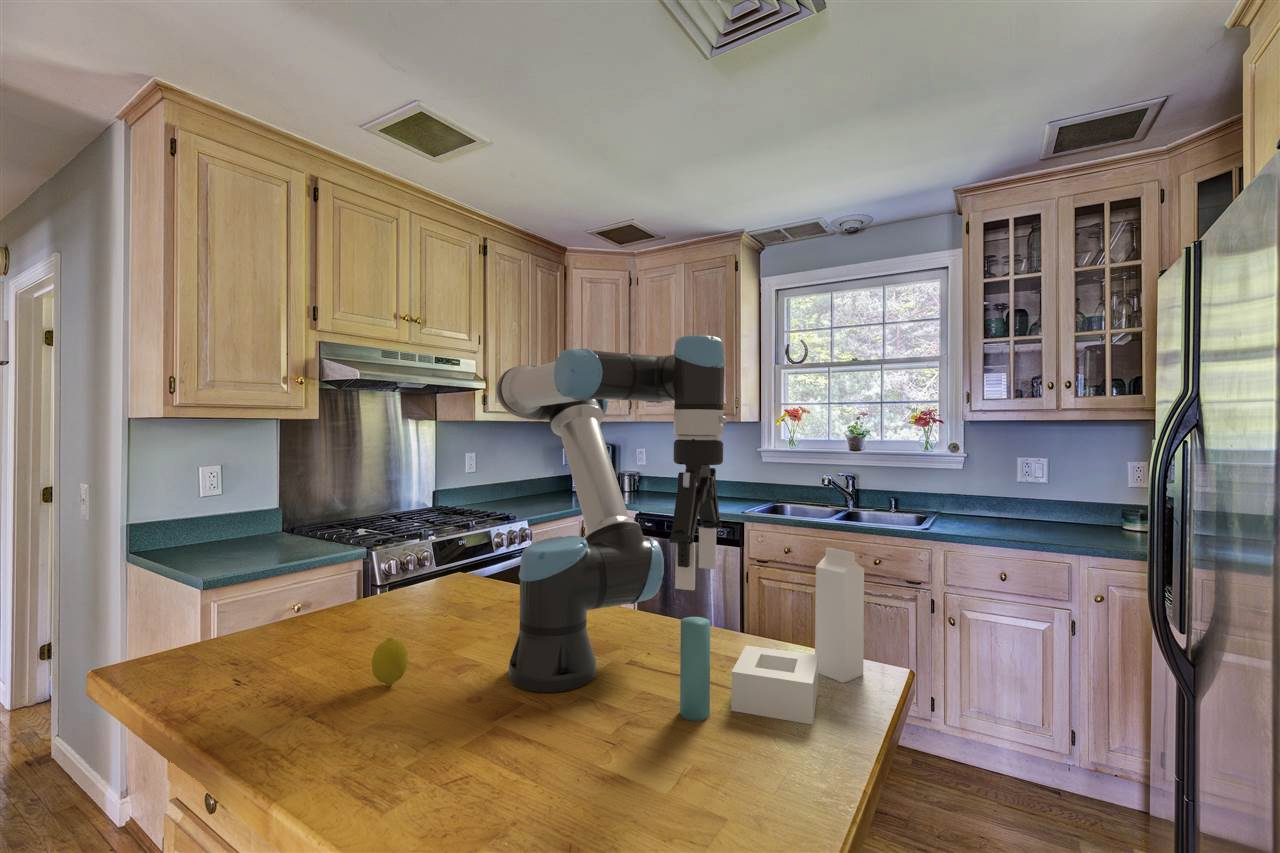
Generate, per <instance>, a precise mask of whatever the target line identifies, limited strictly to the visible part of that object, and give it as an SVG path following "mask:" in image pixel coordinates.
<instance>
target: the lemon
mask: <svg viewBox="0 0 1280 853" xmlns="http://www.w3.org/2000/svg"><path fill="white" fill-rule="evenodd" d="M408 661H409V658H408V651H407V648H406V646H405V645H404V643H403V642H402V641H401V640H398V639H396V638H393V637H388V638H386V639H385V640H383V641H382V642H381V643H379V644H378V645H377V646H376V648H375V650H374V652H373V654H372V658H371V669H372V670H371V671H372V675H373V676H374V678H375V680H377V681H378V682H379V683H382V684H385V685H386V686H387V687H391V686H393V684H394V683H397V681H399V680H400V679H401V678H403V676H404V674H406V671H407V669H408V668H407V667H408V663H409V662H408Z"/></svg>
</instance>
